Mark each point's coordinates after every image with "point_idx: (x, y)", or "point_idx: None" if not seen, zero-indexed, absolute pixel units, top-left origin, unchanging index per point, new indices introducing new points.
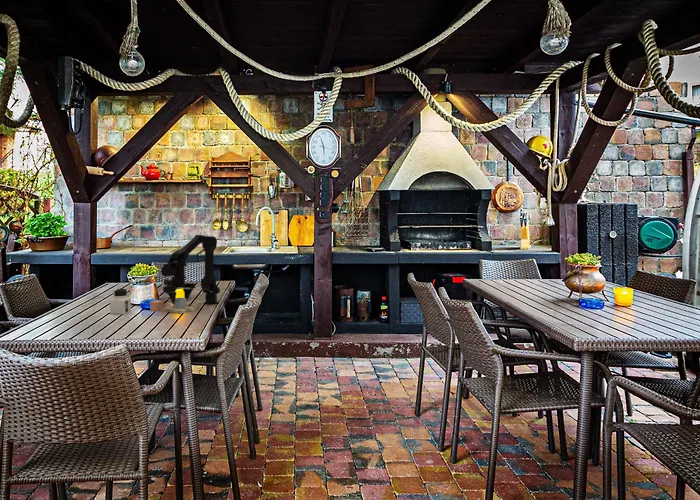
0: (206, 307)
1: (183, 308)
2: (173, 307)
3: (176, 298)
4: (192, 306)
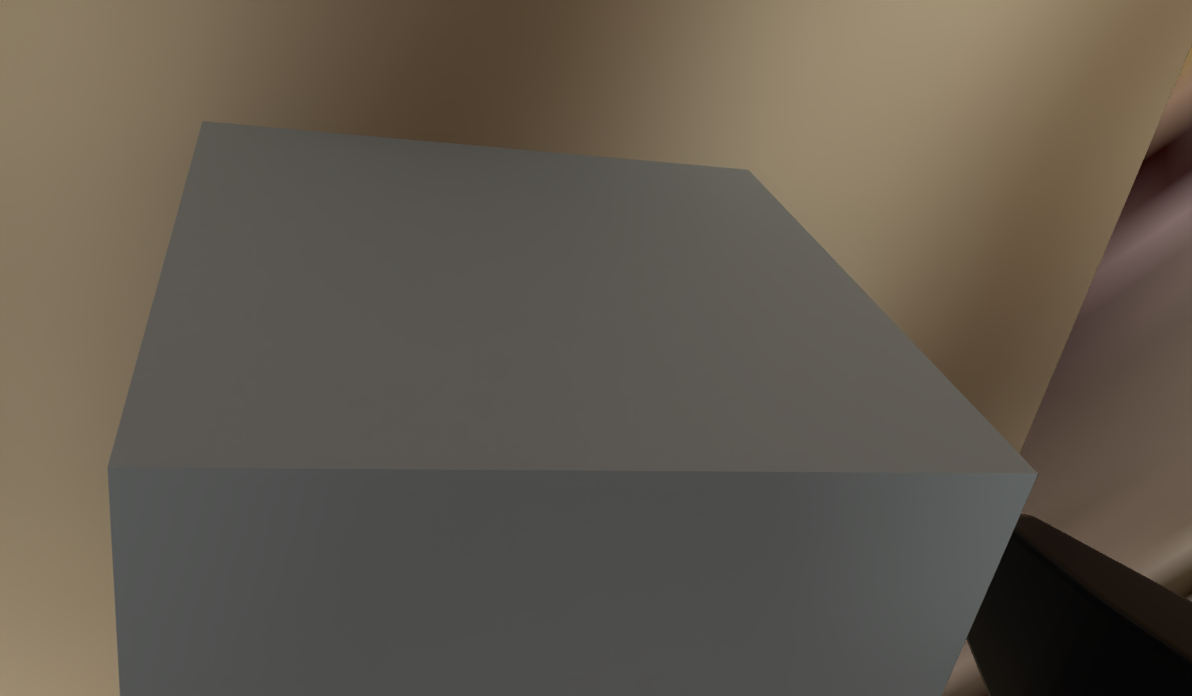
0: None
1: None
2: (200, 154)
3: (487, 577)
4: None
